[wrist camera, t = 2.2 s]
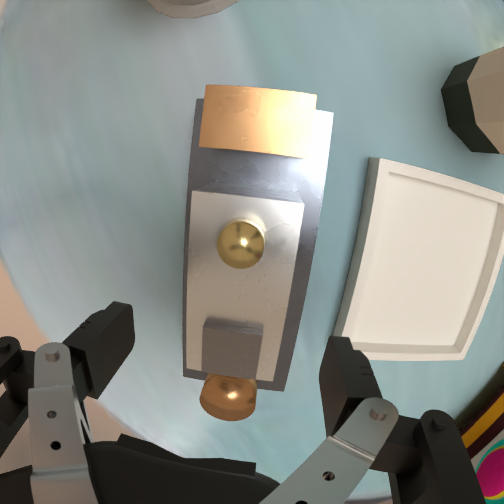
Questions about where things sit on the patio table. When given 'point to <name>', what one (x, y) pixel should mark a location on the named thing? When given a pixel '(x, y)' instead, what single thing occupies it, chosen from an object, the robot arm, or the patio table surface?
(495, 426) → the decorative lantern
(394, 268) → the tray
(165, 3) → the french press
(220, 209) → the lever cap
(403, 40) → the patio table surface
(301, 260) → the plane body
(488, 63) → the wine bottle
